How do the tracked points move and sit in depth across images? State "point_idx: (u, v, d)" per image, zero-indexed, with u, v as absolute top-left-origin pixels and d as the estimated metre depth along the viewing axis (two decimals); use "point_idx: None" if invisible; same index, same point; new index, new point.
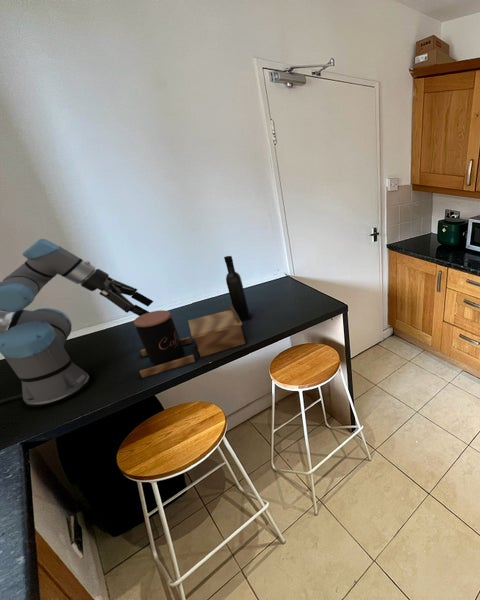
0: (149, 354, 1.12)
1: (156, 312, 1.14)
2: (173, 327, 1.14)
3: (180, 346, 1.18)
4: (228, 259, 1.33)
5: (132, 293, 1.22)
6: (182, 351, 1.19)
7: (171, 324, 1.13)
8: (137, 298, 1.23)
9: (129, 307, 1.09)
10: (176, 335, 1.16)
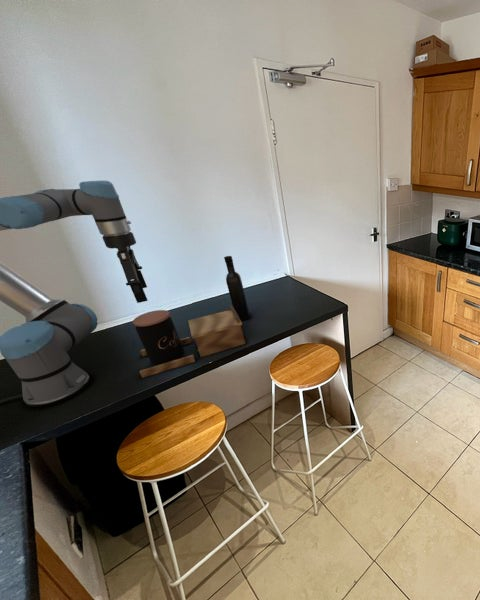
0: (149, 354, 1.12)
1: (155, 312, 1.14)
2: (172, 326, 1.14)
3: (180, 346, 1.18)
4: (228, 259, 1.33)
5: (134, 269, 1.09)
6: (182, 351, 1.19)
7: (170, 323, 1.13)
8: None
9: (135, 281, 0.97)
10: (175, 334, 1.16)
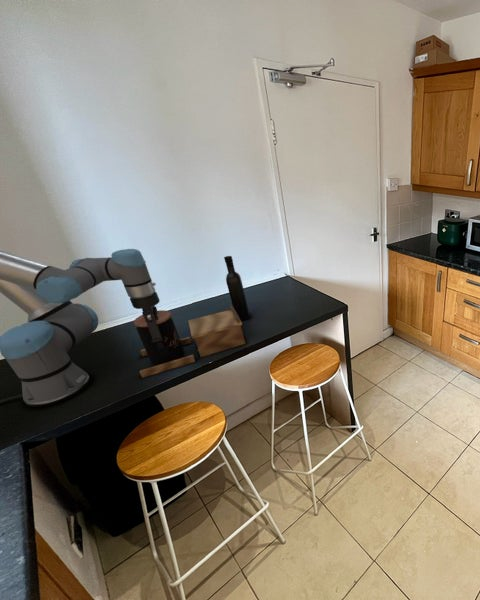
0: (149, 354, 1.12)
1: None
2: (173, 327, 1.14)
3: (180, 346, 1.18)
4: (228, 259, 1.33)
5: None
6: (182, 351, 1.19)
7: (171, 324, 1.13)
8: None
9: (160, 340, 1.07)
10: (176, 335, 1.16)
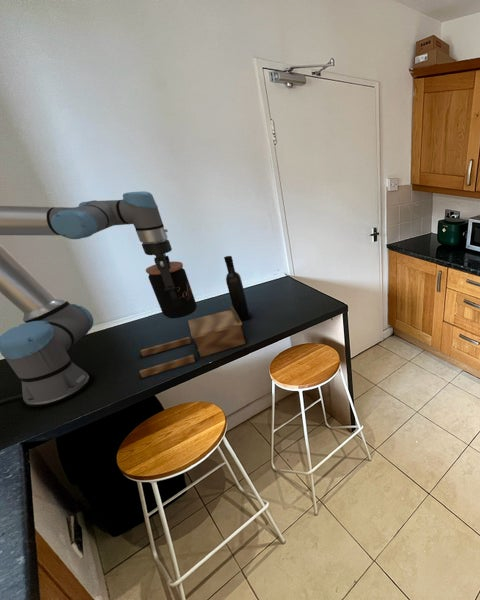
0: (161, 305, 1.09)
1: None
2: (186, 278, 1.11)
3: (193, 299, 1.15)
4: (228, 259, 1.33)
5: None
6: (195, 305, 1.16)
7: (184, 274, 1.10)
8: None
9: (173, 288, 1.04)
10: (189, 287, 1.13)
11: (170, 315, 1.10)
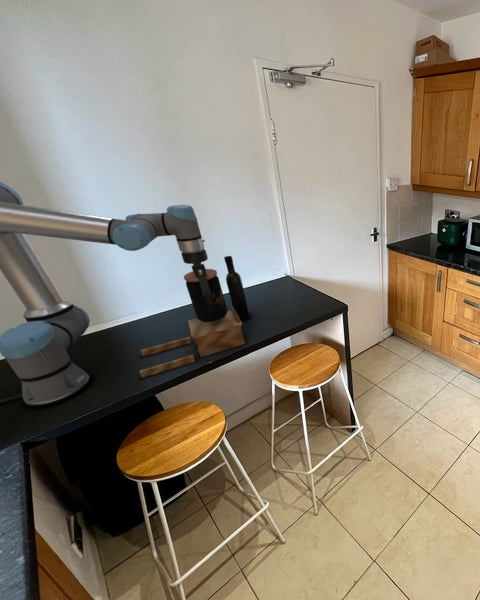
0: (197, 310, 1.16)
1: None
2: (219, 285, 1.18)
3: (225, 304, 1.22)
4: (228, 259, 1.33)
5: None
6: (226, 309, 1.23)
7: (218, 281, 1.17)
8: None
9: (209, 294, 1.11)
10: (221, 293, 1.20)
11: (204, 319, 1.18)
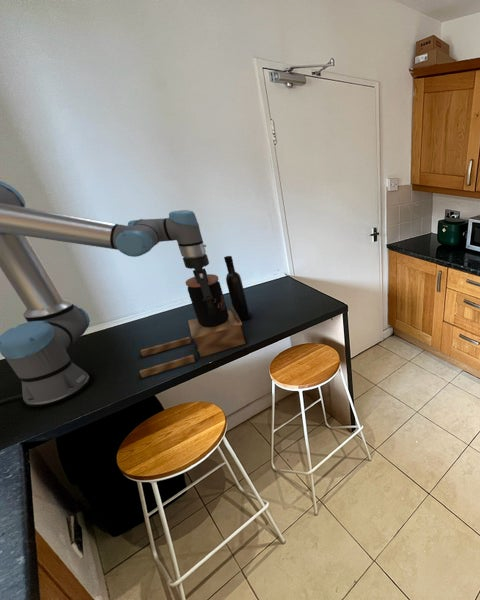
0: (198, 315, 1.17)
1: None
2: (221, 290, 1.19)
3: (226, 309, 1.23)
4: (228, 259, 1.33)
5: None
6: (227, 314, 1.24)
7: (219, 287, 1.18)
8: None
9: (210, 298, 1.11)
10: (223, 298, 1.21)
11: (206, 324, 1.19)
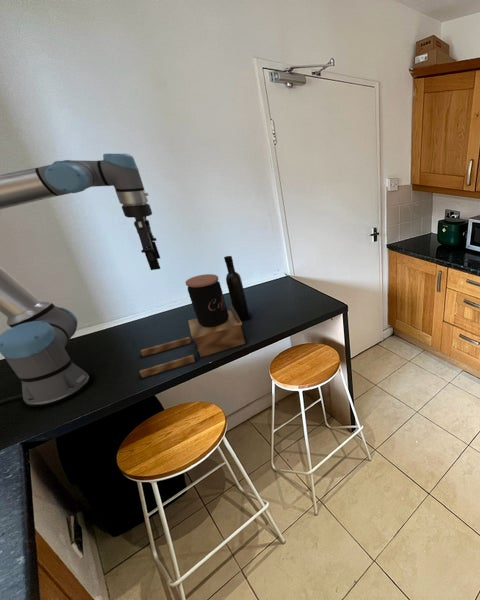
0: (198, 315, 1.17)
1: (204, 275, 1.19)
2: (221, 290, 1.19)
3: (226, 309, 1.23)
4: (228, 259, 1.33)
5: None
6: (227, 314, 1.24)
7: (219, 287, 1.18)
8: None
9: (150, 249, 1.04)
10: (223, 298, 1.21)
11: (206, 324, 1.19)
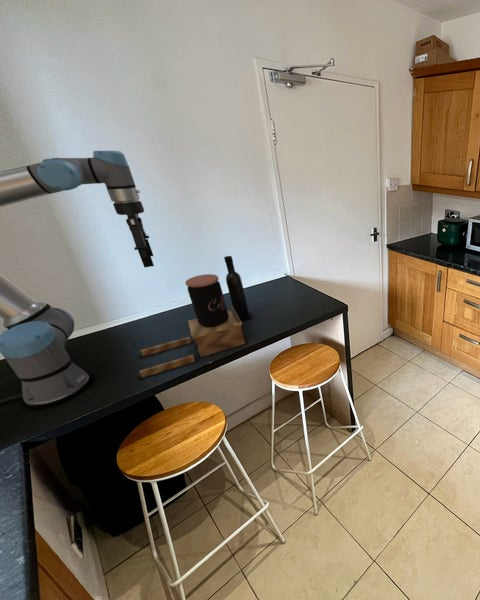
0: (198, 315, 1.17)
1: (204, 275, 1.19)
2: (221, 290, 1.19)
3: (226, 309, 1.23)
4: (228, 259, 1.33)
5: None
6: (227, 314, 1.24)
7: (219, 287, 1.18)
8: None
9: (143, 246, 1.04)
10: (223, 298, 1.21)
11: (206, 324, 1.19)
